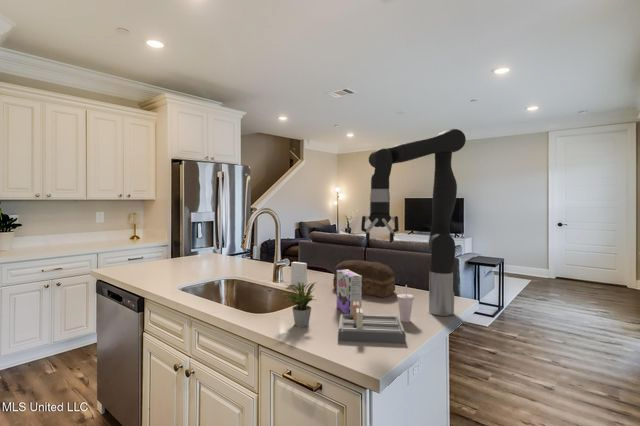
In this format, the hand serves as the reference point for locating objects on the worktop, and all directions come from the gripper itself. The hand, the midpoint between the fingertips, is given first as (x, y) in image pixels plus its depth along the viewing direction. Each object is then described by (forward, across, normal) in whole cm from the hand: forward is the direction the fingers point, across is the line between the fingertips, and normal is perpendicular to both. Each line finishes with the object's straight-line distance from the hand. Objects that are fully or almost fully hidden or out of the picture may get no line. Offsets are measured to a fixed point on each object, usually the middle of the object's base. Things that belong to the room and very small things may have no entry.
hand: (379, 242), depth 137 cm
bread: (+30, +5, -43) cm, 53 cm away
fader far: (+27, +9, +11) cm, 30 cm away
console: (+30, +4, +15) cm, 34 cm away
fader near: (+27, +8, +19) cm, 34 cm away
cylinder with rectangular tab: (+30, +40, -52) cm, 72 cm away
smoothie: (+30, -10, +1) cm, 32 cm away
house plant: (+30, +29, +8) cm, 43 cm away
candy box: (+30, +12, -8) cm, 34 cm away
